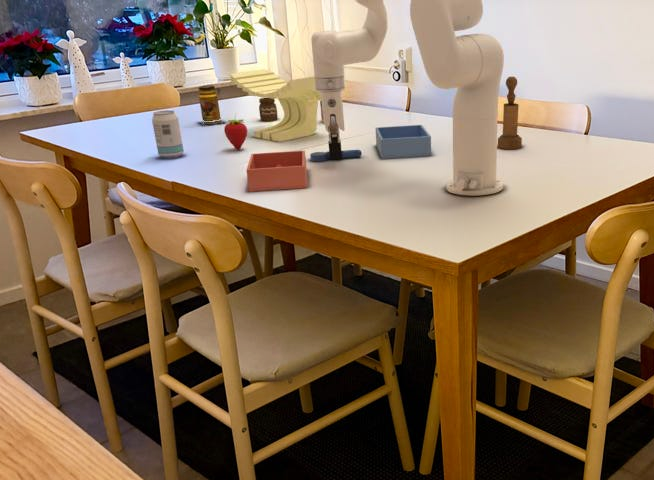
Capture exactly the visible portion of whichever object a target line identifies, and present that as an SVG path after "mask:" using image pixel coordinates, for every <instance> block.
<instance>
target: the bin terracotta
mask: <svg viewBox="0 0 654 480" xmlns="http://www.w3.org/2000/svg"><path fill="white" fill-rule="evenodd" d="M278 164H280V165H282V166H283V167H276V165H278ZM307 169H308V168H307V159H306V151H305V150H290V151H275V152H258V153H257V152H256V153H251V154H250V157H249V160H248V163H247V167H246V177H247V184H248V185H247V186H248V191H249V192H263V191H265V192H266V191H280V190H295V189H307V187H308V170H307Z"/></svg>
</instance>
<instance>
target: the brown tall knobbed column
mask: <svg viewBox="0 0 654 480" xmlns="http://www.w3.org/2000/svg"><path fill="white" fill-rule="evenodd" d="M517 85H518V78H517V77H515V76H508V77H507V78H506V80H505V86H506V88H507V90H508V93H507V95H506V98H507V103H503V117H502V134H501V135H500V136H499V137H497V149H498V148H499V149H500V150H501V149H502V150H517V149H520V148H522V147H523V144H522V143H523V138H522V137H521V135H519V134H518V128H519V127H518V123H519V107H520V106H519V104H518V103H515V100H516V94H515V89H516V87H517Z"/></svg>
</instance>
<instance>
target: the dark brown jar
mask: <svg viewBox="0 0 654 480" xmlns="http://www.w3.org/2000/svg"><path fill="white" fill-rule="evenodd" d="M258 98H259V99H258V102H259V107H258V111H259V118H260V120H261V121H262V122H274V121H277V120H278V119H279V118H278V117H279V116H278V108H277V104H276V103H275V102H276V99H272V98H267V97H265V98H264V97H258Z"/></svg>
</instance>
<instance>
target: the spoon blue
mask: <svg viewBox="0 0 654 480" xmlns="http://www.w3.org/2000/svg"><path fill="white" fill-rule="evenodd" d="M341 151H342V158H337V159H336V160H338V159H340V160H341V159H352V158H355V159H356V158H361V157H362V155H363V153H362V150H361V149H347V150H341ZM309 158H310V161H311V162H315V163H321V162H326V161H327V160H331V159H330V154H329V150H328V151H325V152H324V151H316V152H311V153H310V154H309Z"/></svg>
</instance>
